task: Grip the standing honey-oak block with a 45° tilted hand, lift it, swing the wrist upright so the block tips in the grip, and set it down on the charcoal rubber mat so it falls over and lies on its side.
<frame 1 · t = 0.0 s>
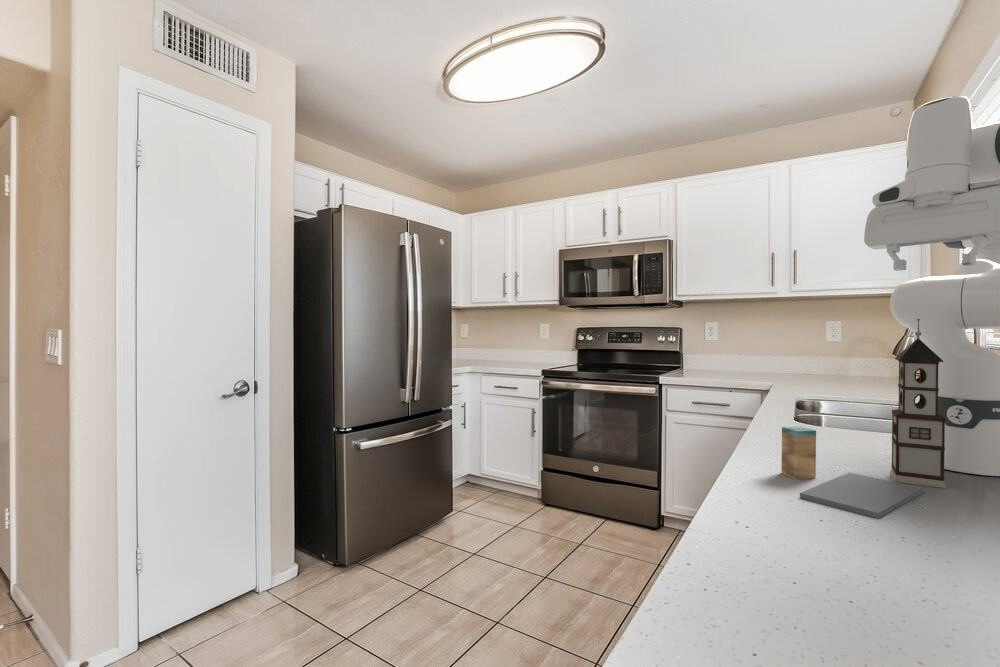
hand: (932, 267, 88), 39 cm above the countertop, tool pointing down, fingers open, 8 cm apart
oak block: (798, 475, 96), on the countertop
rubber mat: (862, 494, 85), on the countertop
miniature building: (916, 480, 93), on the countertop
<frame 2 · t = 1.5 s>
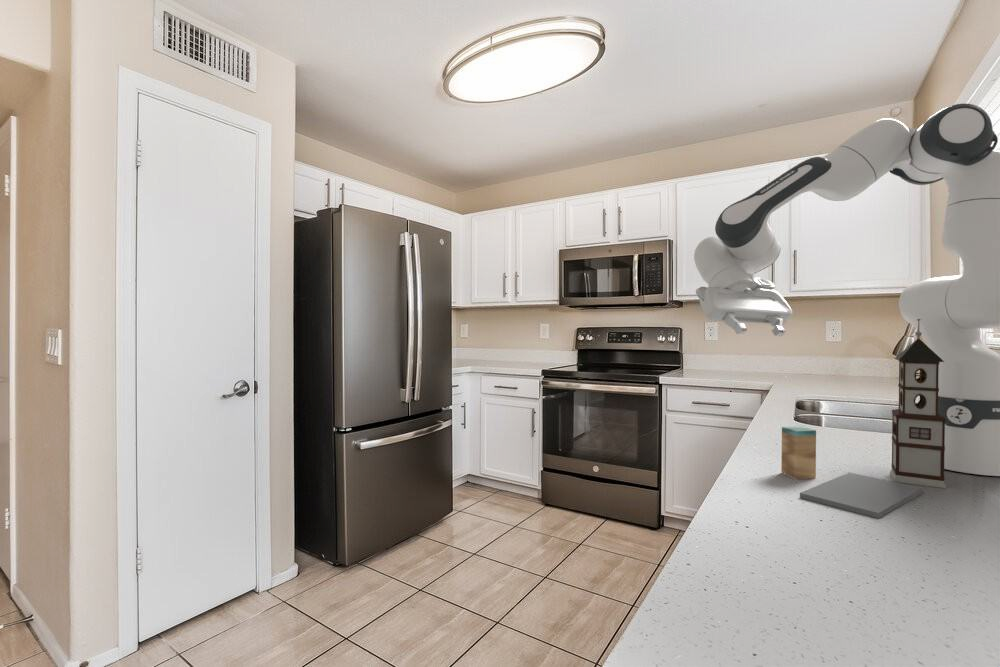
hand: (761, 333, 106), 27 cm above the countertop, tool tilted 45°, fingers open, 8 cm apart
nothing on the countertop moved.
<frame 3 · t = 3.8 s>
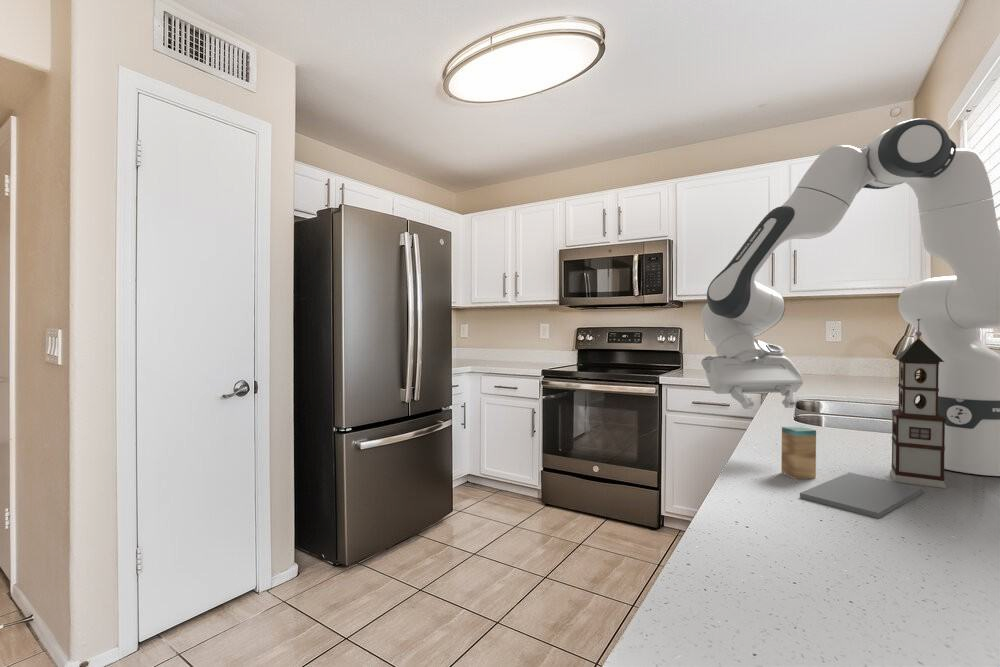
hand: (770, 406, 103), 12 cm above the countertop, tool tilted 45°, fingers open, 8 cm apart
nothing on the countertop moved.
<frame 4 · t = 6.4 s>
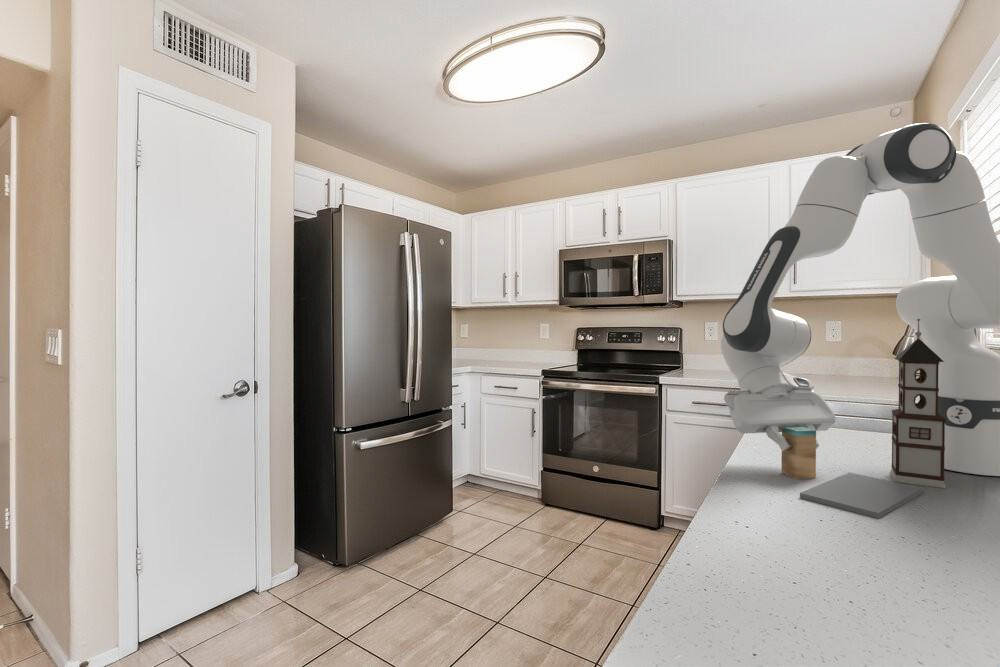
hand: (801, 448, 95), 5 cm above the countertop, tool tilted 45°, fingers closed on oak block, 4 cm apart
oak block: (798, 475, 96), on the countertop, touching gripper
everything else where it was.
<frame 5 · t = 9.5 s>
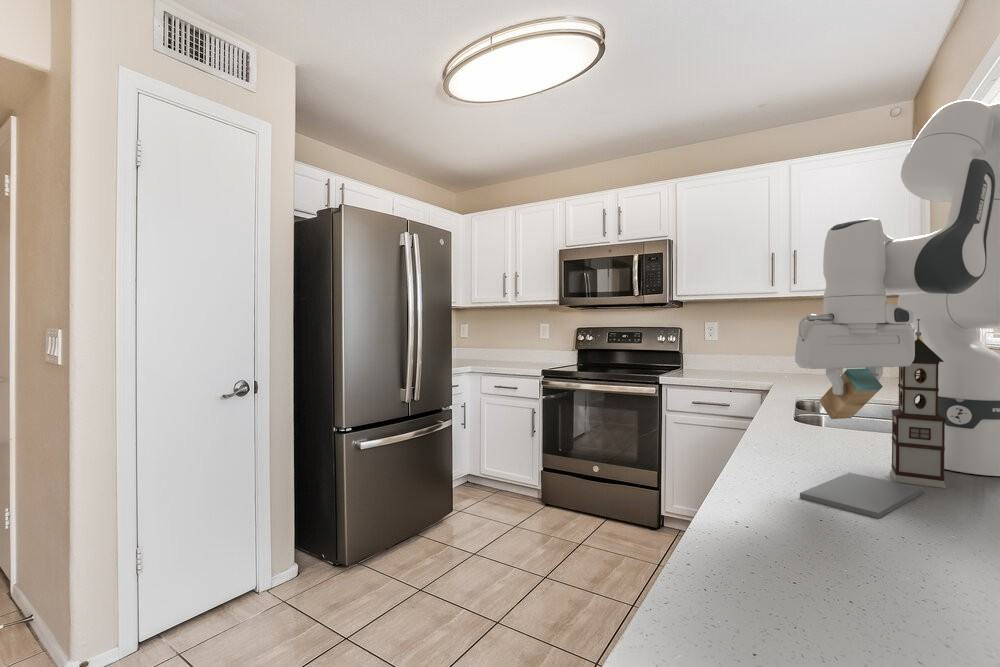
hand: (854, 394, 86), 17 cm above the countertop, tool pointing down, fingers closed on oak block, 4 cm apart
oak block: (834, 409, 91), point 14 cm above the countertop, tilted 45°, touching gripper
everything else where it was.
when the fingers open (6 cm above the countertop, at t = 12.4 s): oak block moves 2 cm and tips over, resting on rubber mat.
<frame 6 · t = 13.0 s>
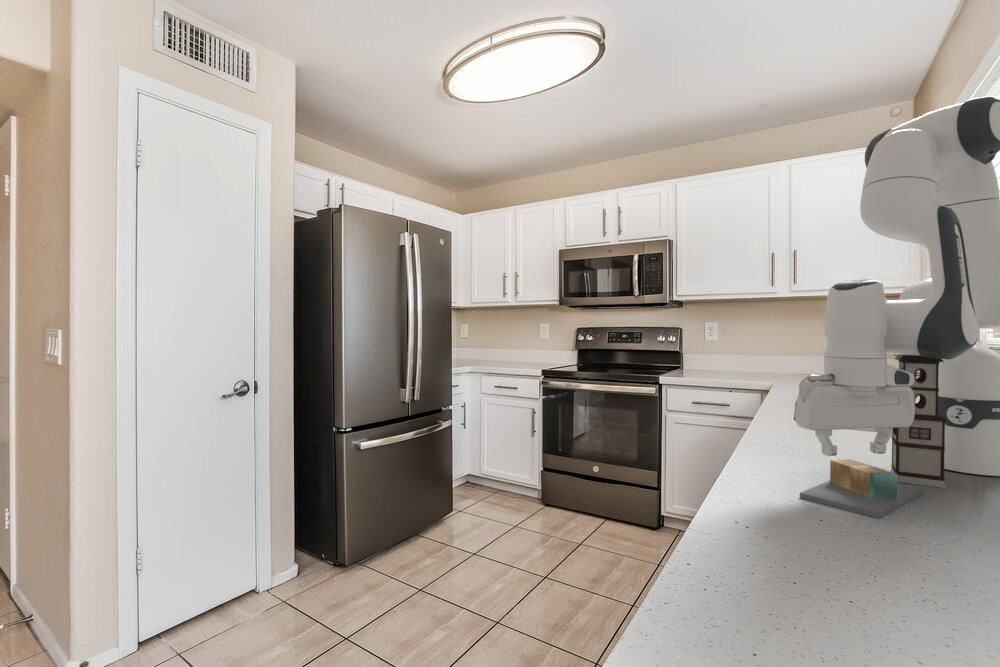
hand: (853, 454, 86), 6 cm above the countertop, tool pointing down, fingers open, 8 cm apart
oak block: (840, 470, 89), point 3 cm above the countertop, tilted 90°, touching rubber mat
everything else where it was.
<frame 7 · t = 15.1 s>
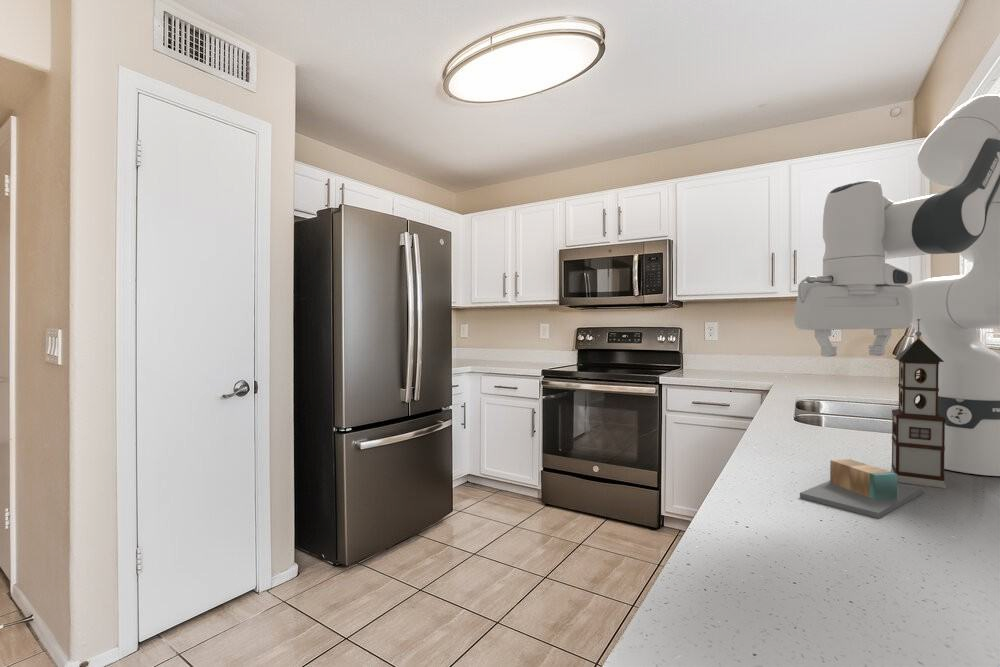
hand: (852, 356, 87), 23 cm above the countertop, tool pointing down, fingers open, 8 cm apart
nothing on the countertop moved.
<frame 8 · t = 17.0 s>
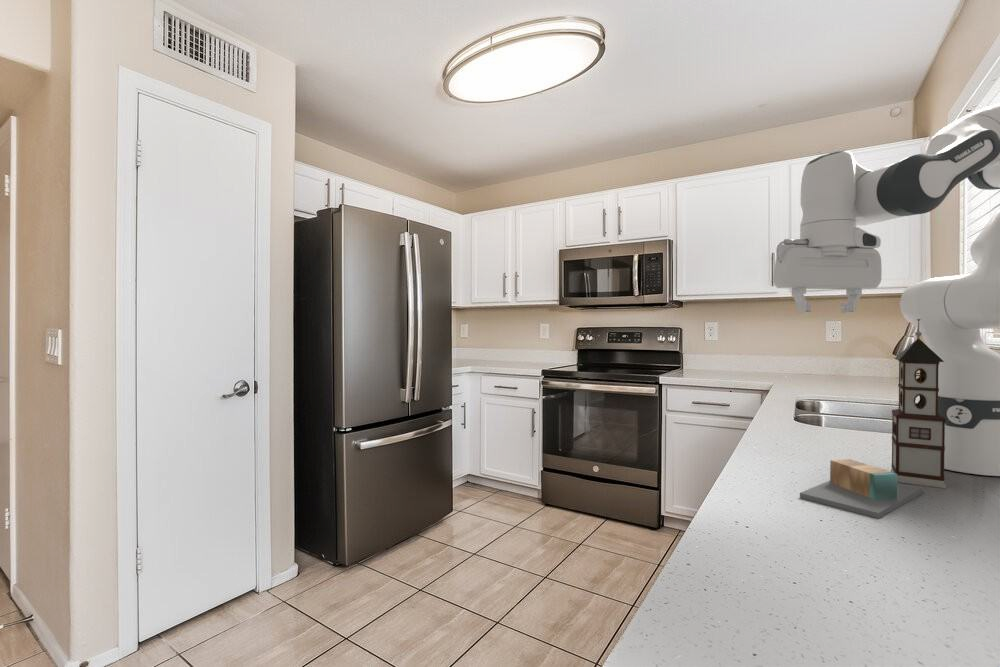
hand: (826, 312, 95), 31 cm above the countertop, tool pointing down, fingers open, 8 cm apart
nothing on the countertop moved.
at the end: oak block tilted 90°; oak block inside the target area on the rubber mat (3.3 cm from its centre), point 2.8 cm above the rubber mat's base; the gripper is holding nothing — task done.
